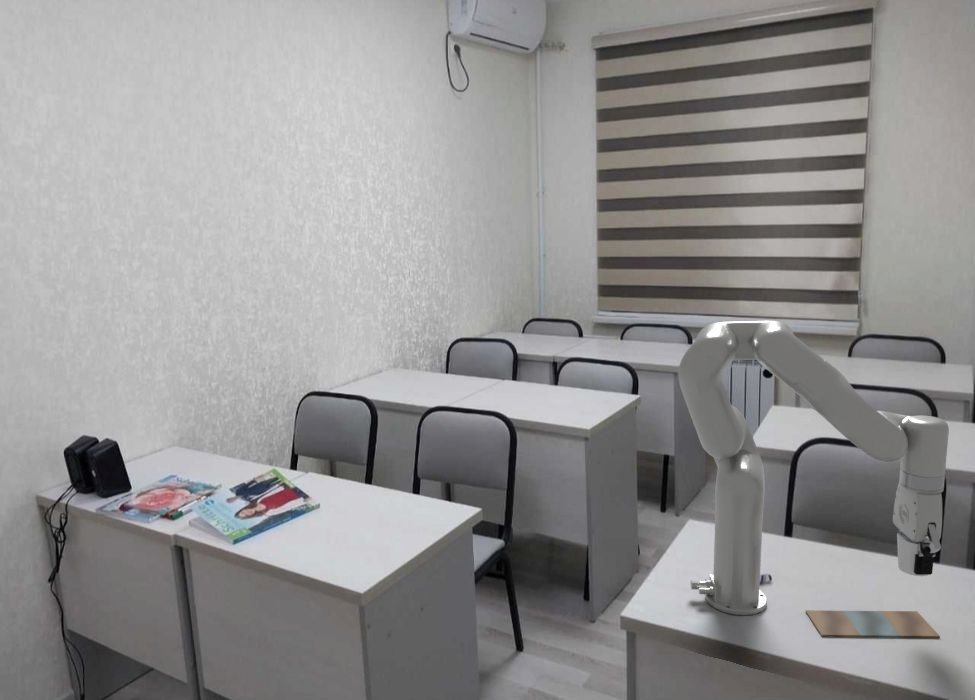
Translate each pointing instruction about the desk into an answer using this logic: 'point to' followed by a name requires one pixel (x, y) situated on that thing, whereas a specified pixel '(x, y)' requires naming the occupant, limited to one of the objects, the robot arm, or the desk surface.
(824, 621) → the game board
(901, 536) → the white cup
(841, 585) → the desk surface
